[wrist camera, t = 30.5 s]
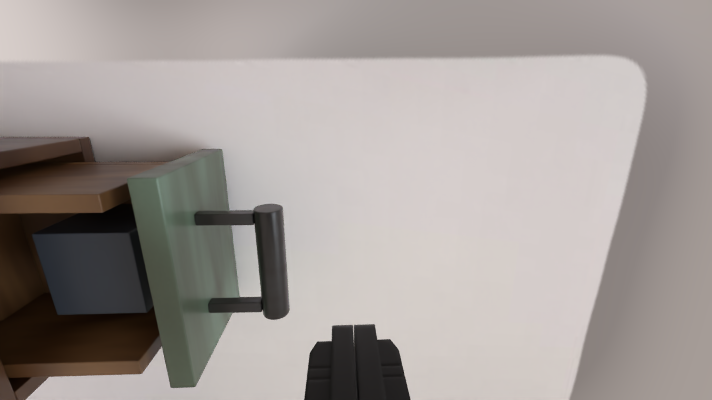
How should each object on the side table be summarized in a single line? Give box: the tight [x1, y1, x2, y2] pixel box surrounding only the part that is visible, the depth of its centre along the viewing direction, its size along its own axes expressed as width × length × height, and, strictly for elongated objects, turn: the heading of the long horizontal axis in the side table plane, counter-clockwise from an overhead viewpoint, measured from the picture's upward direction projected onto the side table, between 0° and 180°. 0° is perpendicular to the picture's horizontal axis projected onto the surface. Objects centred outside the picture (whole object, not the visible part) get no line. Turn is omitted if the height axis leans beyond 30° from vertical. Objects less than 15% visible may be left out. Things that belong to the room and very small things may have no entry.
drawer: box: [0, 149, 289, 388], centre depth 18 cm, size 17×10×7 cm, turn 90°
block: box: [32, 204, 153, 315], centre depth 18 cm, size 4×4×4 cm
